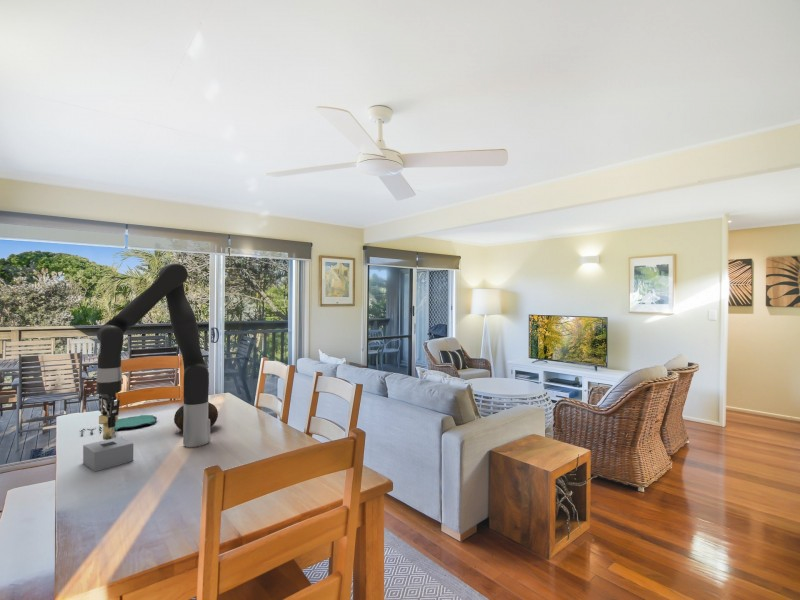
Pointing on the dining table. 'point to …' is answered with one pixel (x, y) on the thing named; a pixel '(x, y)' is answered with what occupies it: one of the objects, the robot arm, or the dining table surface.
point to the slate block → (107, 453)
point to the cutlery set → (132, 422)
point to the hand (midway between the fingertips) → (108, 425)
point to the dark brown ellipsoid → (211, 415)
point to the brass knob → (106, 426)
